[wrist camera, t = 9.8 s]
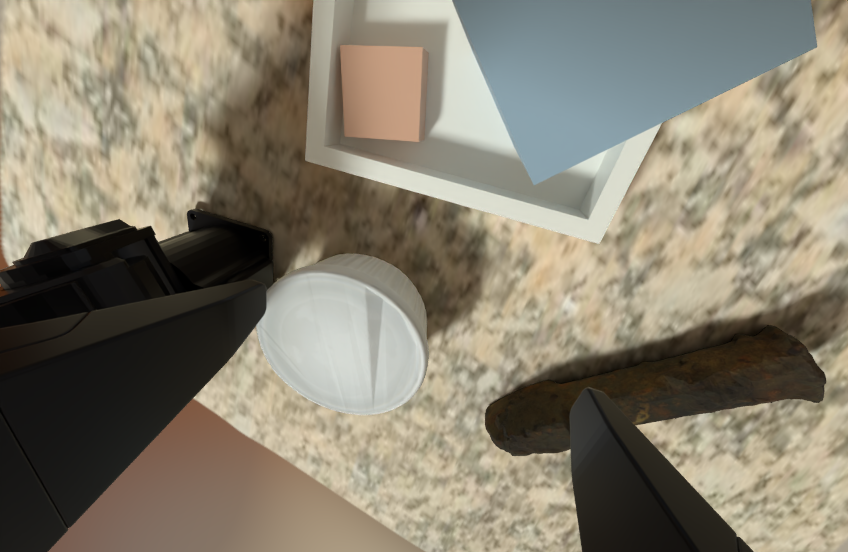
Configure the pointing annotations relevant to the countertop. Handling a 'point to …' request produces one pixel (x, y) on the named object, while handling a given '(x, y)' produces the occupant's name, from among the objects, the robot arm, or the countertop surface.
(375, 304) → the ramekin
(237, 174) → the countertop surface
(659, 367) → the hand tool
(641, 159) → the tray
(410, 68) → the terracotta tile
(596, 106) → the blue block
